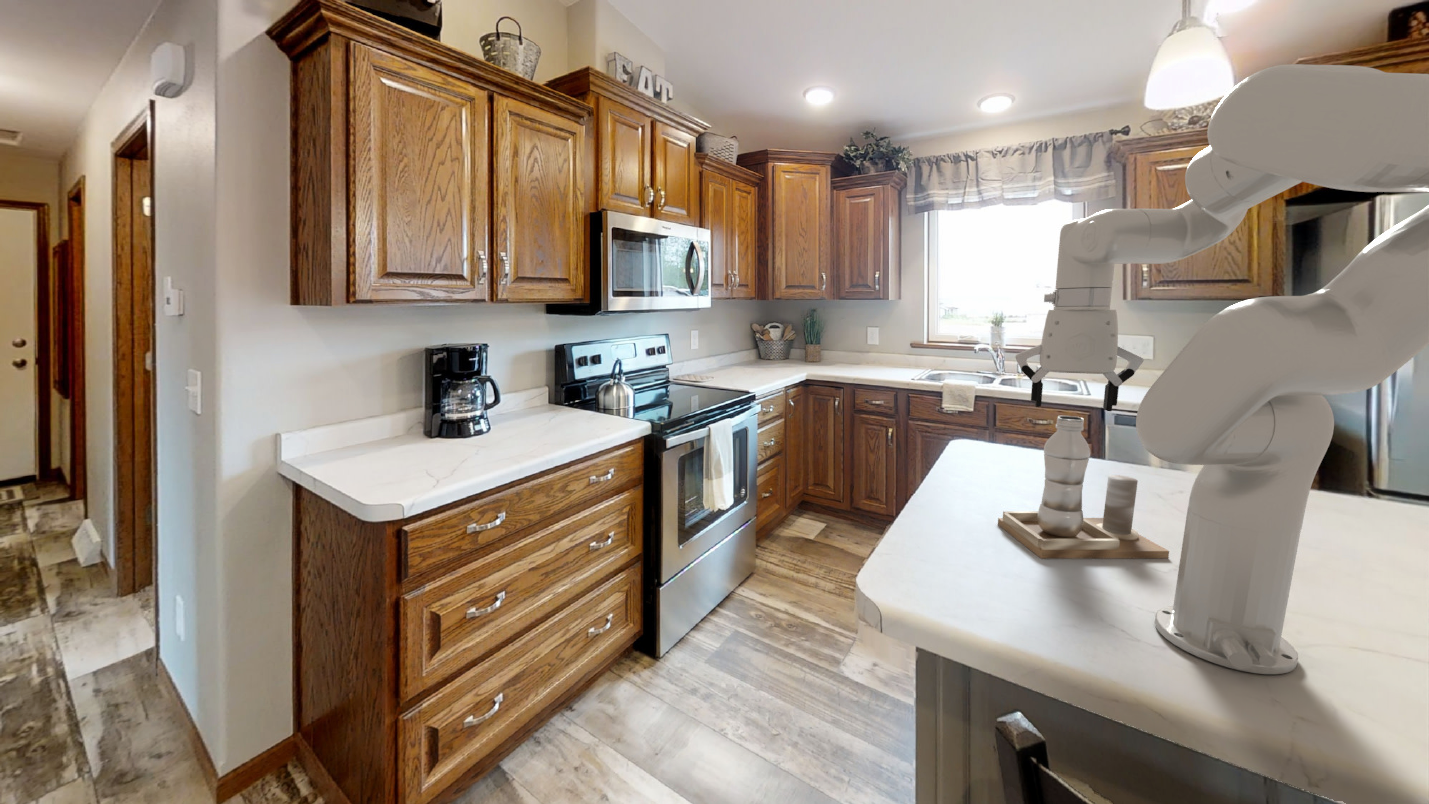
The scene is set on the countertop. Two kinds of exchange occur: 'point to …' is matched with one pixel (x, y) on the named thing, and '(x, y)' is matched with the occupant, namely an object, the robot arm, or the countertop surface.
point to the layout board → (1089, 530)
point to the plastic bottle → (1064, 479)
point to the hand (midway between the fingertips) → (1071, 407)
